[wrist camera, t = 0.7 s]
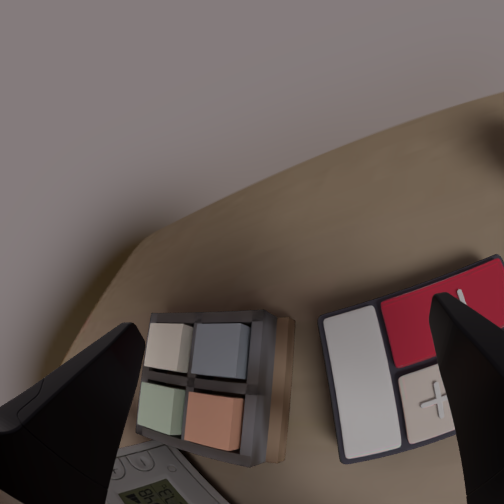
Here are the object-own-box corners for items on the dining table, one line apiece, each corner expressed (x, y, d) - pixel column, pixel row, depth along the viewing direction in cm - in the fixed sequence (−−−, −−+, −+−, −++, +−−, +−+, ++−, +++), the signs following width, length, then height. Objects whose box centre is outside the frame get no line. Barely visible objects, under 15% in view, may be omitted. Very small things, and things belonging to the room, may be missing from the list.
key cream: (193, 374, 24) (176, 370, 22) (160, 369, 26) (144, 365, 24) (199, 329, 25) (183, 323, 24) (166, 328, 27) (150, 323, 26)
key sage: (187, 434, 21) (169, 435, 20) (154, 424, 23) (137, 423, 21) (191, 390, 23) (174, 388, 21) (159, 384, 25) (141, 381, 23)
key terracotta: (244, 447, 19) (228, 451, 17) (201, 437, 21) (184, 439, 19) (248, 398, 21) (233, 398, 19) (205, 393, 22) (188, 391, 21)
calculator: (546, 391, 10) (337, 468, 14) (522, 393, 13) (346, 456, 18) (502, 246, 15) (313, 312, 20) (488, 270, 19) (325, 326, 23)
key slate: (250, 379, 21) (235, 377, 20) (207, 375, 23) (191, 372, 21) (254, 329, 23) (240, 323, 21) (213, 329, 25) (197, 323, 23)
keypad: (284, 459, 19) (262, 470, 16) (157, 430, 26) (128, 430, 23) (295, 321, 25) (276, 308, 22) (171, 323, 31) (144, 313, 28)
